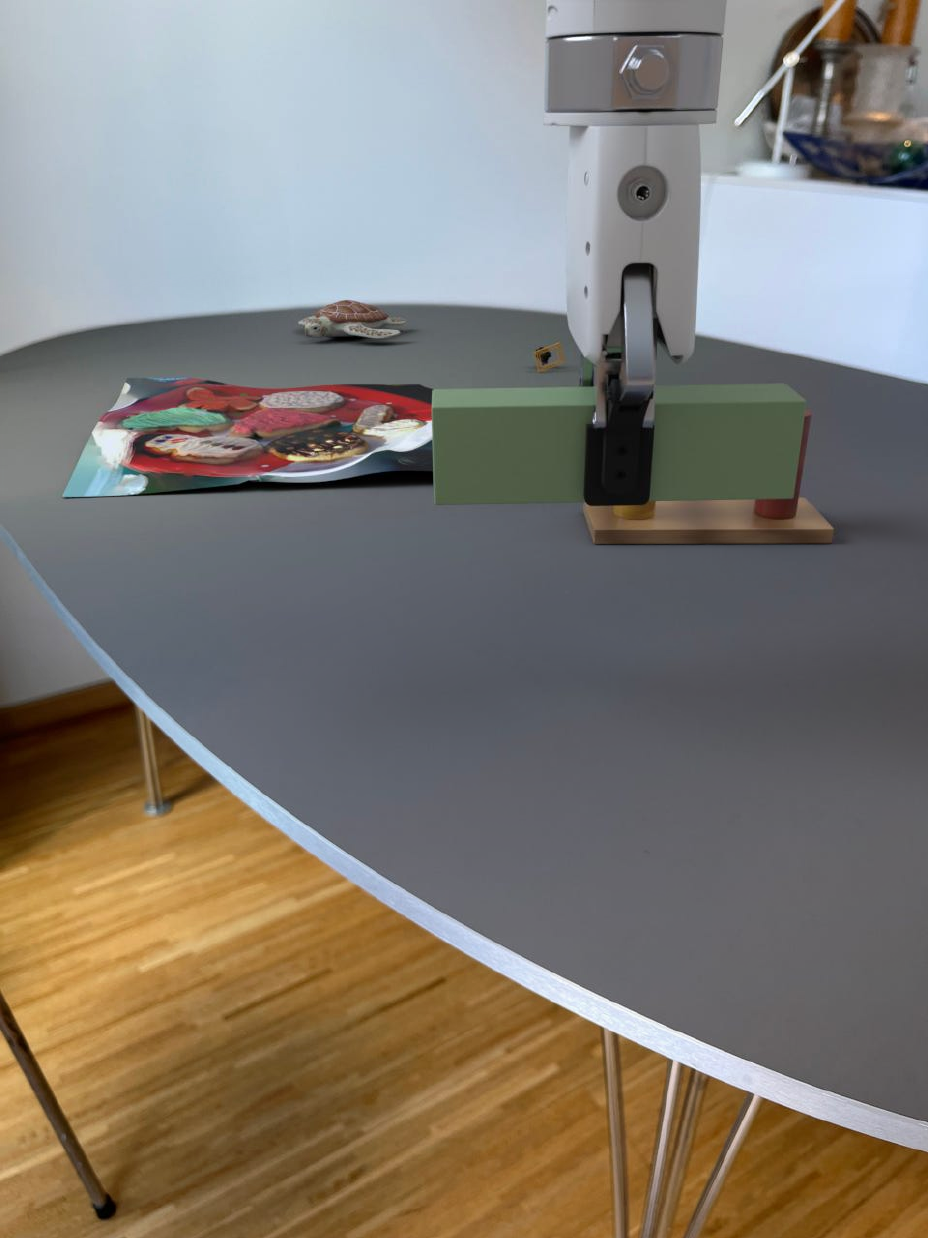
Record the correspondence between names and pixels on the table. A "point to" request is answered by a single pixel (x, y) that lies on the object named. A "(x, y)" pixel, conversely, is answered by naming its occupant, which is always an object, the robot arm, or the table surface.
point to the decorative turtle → (350, 321)
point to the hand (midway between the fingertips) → (609, 485)
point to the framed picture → (547, 356)
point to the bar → (556, 435)
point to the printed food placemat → (251, 435)
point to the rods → (714, 519)
